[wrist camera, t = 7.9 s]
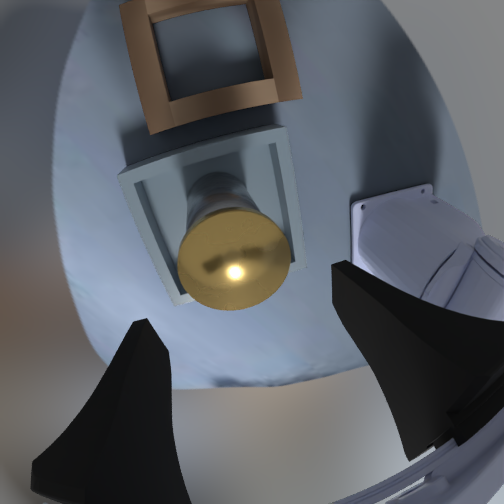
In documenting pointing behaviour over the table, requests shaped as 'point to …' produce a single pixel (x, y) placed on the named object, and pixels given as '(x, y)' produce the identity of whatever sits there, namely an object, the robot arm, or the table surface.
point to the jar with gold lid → (230, 246)
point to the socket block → (219, 100)
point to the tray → (197, 165)
